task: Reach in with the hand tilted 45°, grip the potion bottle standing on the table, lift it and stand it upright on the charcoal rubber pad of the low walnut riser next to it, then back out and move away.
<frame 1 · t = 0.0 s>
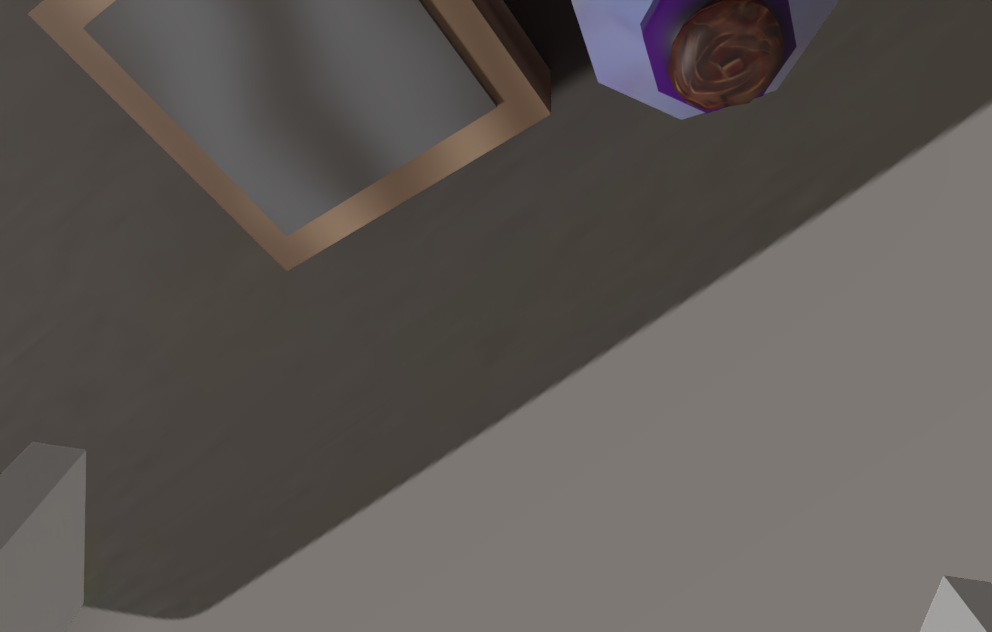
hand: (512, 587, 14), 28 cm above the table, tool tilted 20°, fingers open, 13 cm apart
walnut riser: (316, 25, 37), on the table
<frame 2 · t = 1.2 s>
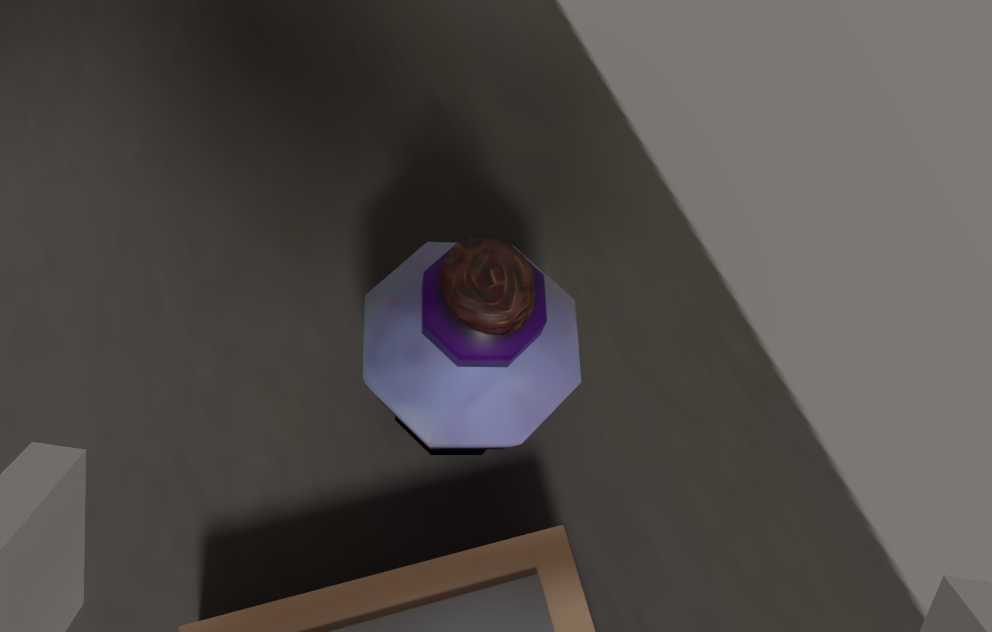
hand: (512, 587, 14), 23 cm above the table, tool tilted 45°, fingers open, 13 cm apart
potion bottle: (454, 398, 39), on the table
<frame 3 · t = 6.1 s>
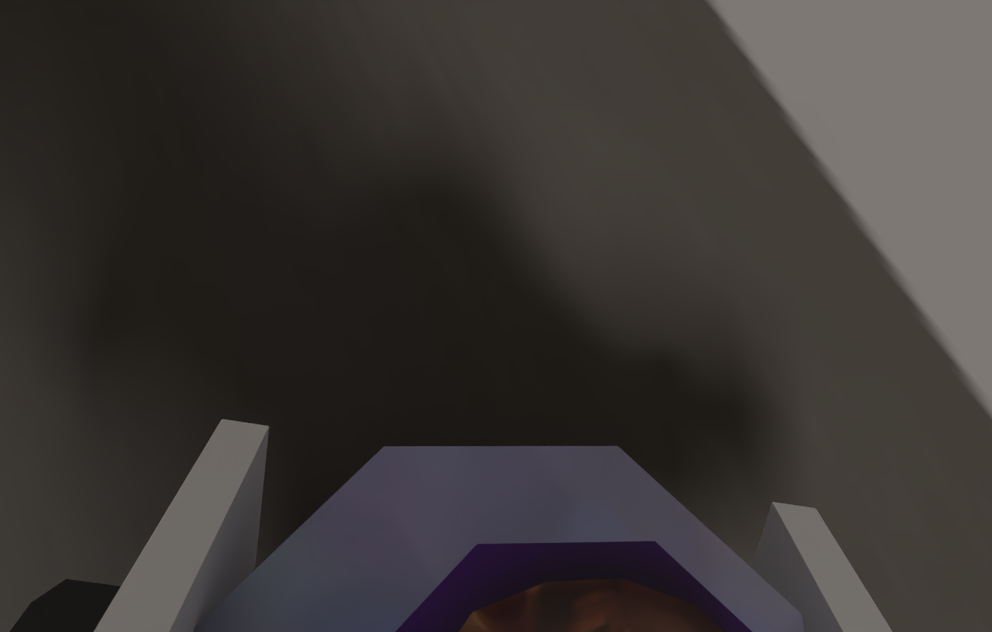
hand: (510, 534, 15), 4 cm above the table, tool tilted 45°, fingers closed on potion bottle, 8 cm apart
when the fingers open (10 cm above the table, at t = 11.0 s): potion bottle drops 1 cm, resting on walnut riser.
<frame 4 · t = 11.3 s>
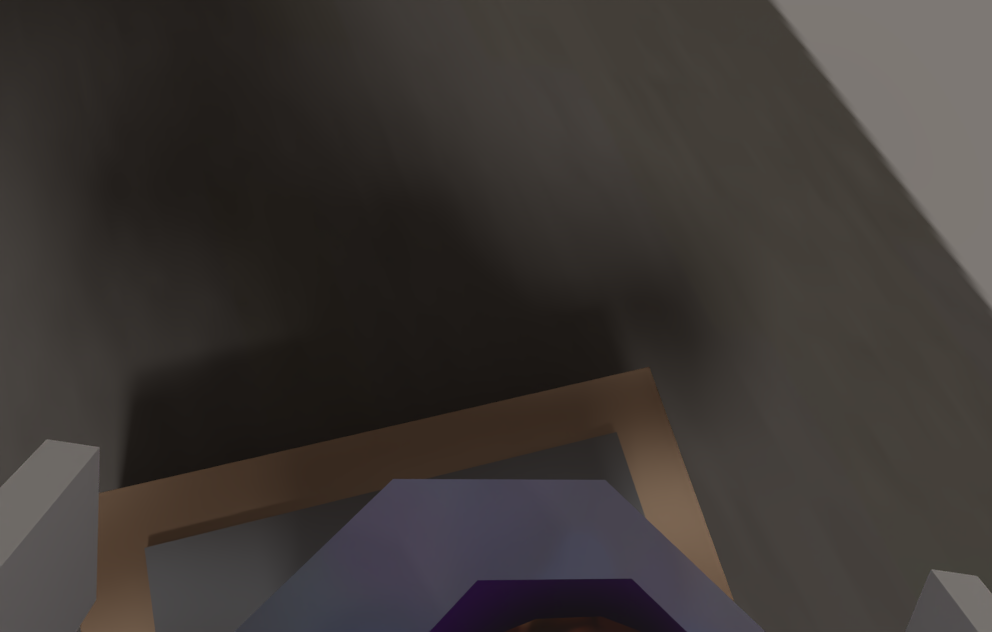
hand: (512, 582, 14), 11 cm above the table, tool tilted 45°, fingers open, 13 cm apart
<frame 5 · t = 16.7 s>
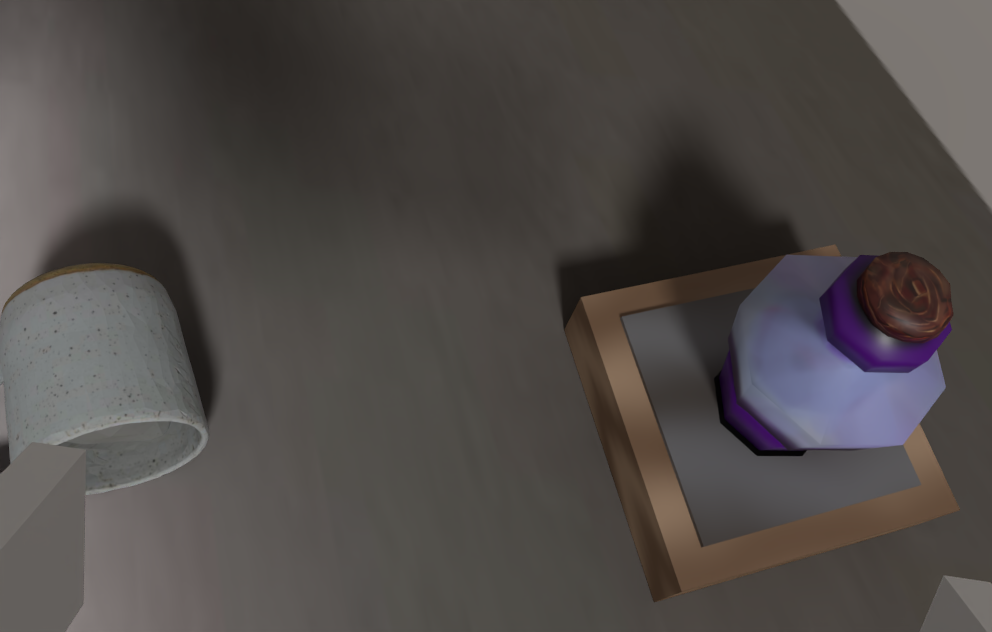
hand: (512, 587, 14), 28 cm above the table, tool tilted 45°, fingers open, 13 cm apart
potion bottle: (769, 402, 41), point 4 cm above the table, touching walnut riser
ceramic mug: (94, 420, 42), on the table
walnut riser: (734, 426, 45), on the table
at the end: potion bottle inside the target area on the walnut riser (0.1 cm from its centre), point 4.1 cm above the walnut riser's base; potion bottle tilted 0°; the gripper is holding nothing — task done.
